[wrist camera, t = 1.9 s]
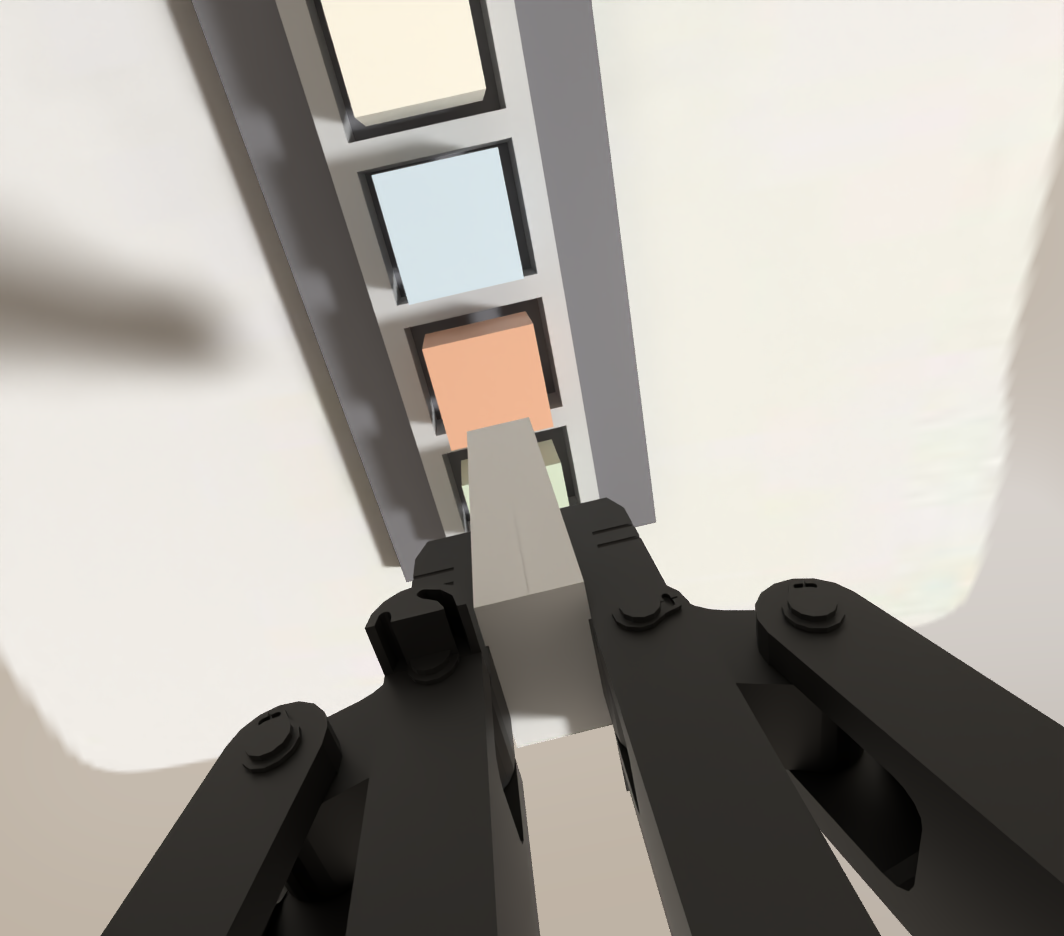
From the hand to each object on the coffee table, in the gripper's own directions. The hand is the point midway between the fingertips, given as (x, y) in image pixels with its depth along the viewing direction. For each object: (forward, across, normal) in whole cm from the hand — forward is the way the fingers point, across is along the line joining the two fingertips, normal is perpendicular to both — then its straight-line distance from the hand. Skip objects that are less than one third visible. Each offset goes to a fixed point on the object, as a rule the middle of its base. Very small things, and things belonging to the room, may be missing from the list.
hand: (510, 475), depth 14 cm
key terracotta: (+8, 0, 0) cm, 8 cm away
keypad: (+11, 0, +3) cm, 12 cm away
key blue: (+8, 0, +5) cm, 10 cm away
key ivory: (+8, 0, +10) cm, 13 cm away
